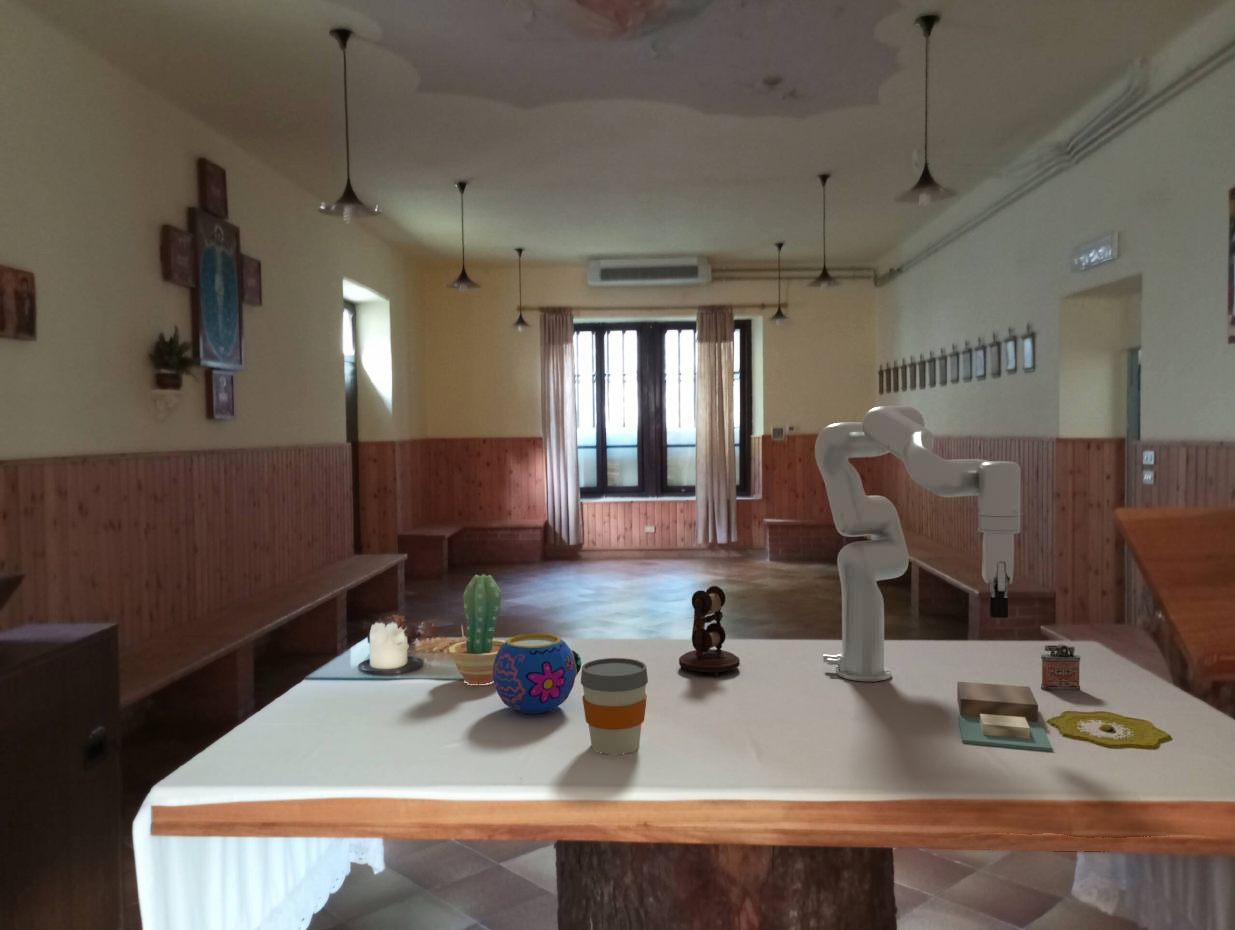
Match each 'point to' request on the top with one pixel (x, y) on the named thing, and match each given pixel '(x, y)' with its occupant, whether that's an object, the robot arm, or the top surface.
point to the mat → (974, 735)
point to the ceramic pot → (535, 672)
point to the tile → (1004, 726)
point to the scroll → (708, 635)
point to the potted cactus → (479, 631)
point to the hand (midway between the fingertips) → (998, 616)
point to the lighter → (1060, 669)
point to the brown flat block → (996, 700)
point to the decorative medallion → (1141, 729)
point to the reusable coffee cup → (614, 703)
